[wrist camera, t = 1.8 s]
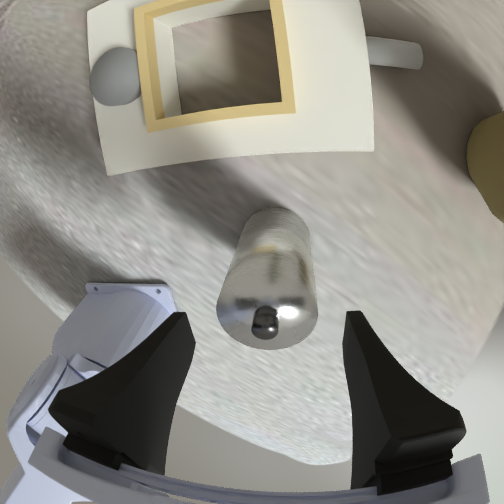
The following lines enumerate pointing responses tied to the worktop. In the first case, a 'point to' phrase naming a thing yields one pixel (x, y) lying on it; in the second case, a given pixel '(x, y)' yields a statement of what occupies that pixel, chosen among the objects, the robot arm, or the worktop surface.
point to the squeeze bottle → (488, 161)
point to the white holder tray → (239, 117)
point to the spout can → (270, 283)
